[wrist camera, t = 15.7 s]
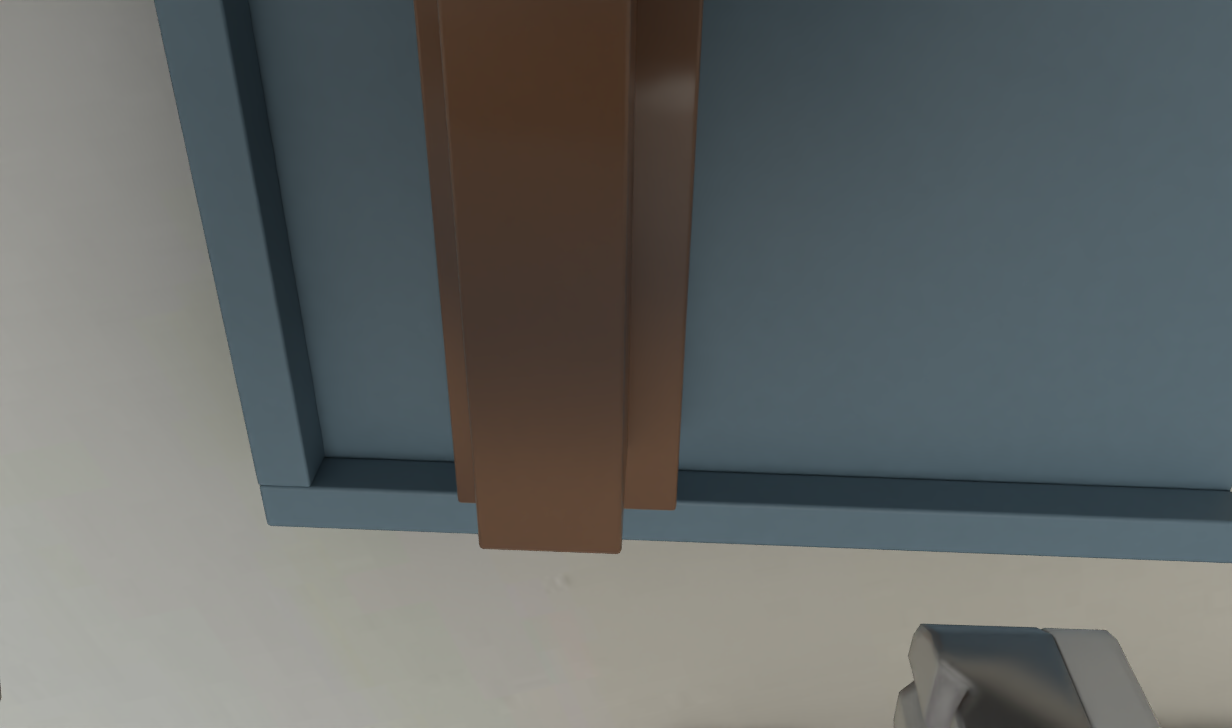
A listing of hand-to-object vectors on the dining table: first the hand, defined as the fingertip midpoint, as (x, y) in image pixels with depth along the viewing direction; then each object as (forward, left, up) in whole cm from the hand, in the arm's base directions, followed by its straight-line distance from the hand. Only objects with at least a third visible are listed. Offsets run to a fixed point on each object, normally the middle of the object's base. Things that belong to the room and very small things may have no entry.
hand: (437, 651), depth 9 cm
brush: (0, 0, -13) cm, 13 cm away
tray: (0, +4, -14) cm, 14 cm away
